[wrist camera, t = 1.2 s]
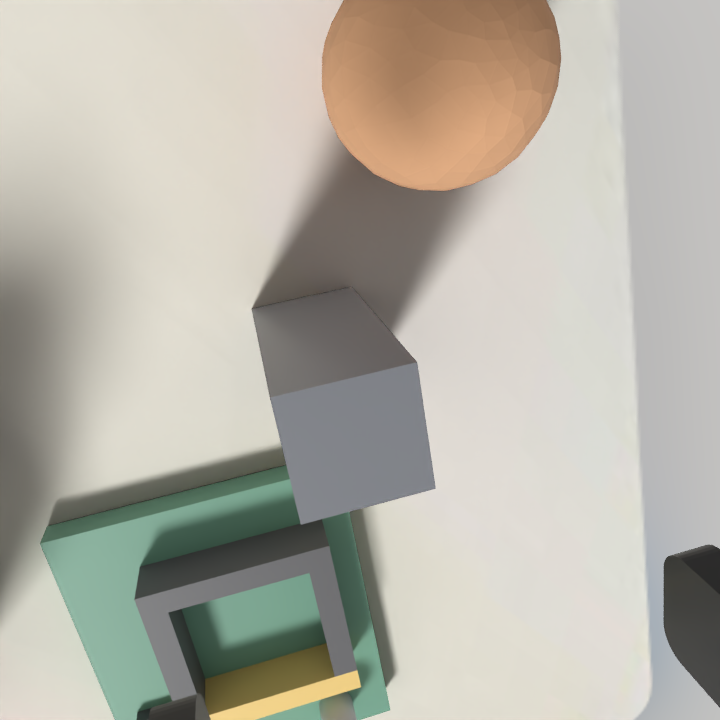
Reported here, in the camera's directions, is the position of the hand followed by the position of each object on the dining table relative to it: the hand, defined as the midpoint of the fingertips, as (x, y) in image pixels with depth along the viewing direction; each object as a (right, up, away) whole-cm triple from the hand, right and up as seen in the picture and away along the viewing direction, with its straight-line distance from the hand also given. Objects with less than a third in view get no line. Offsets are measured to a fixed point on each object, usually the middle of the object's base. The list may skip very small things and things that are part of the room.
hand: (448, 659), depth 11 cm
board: (-7, -7, +19) cm, 21 cm away
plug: (-3, +6, +15) cm, 17 cm away
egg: (0, +15, +13) cm, 20 cm away
